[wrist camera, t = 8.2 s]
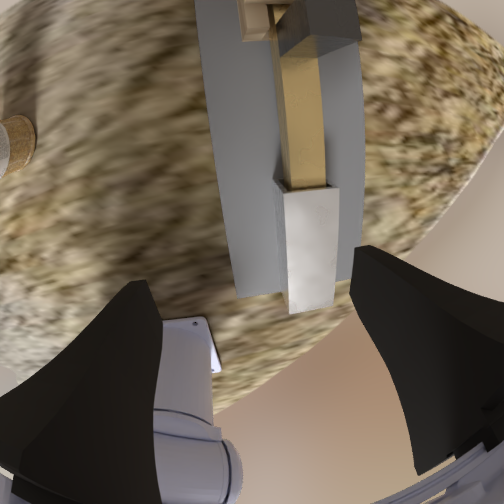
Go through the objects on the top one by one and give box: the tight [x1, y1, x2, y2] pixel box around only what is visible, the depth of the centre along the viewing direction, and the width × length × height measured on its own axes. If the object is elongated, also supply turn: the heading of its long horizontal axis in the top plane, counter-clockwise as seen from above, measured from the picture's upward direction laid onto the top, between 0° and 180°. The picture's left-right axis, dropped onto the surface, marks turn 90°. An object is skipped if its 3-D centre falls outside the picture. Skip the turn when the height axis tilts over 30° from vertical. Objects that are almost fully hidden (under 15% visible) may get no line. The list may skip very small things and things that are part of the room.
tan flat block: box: [267, 0, 362, 191], centre depth 11 cm, size 2×12×7 cm, turn 6°
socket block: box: [237, 0, 294, 42], centre depth 10 cm, size 5×4×4 cm
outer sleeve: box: [272, 178, 339, 314], centre depth 18 cm, size 3×8×3 cm, turn 6°
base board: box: [194, 0, 365, 299], centre depth 16 cm, size 10×22×1 cm, turn 6°
